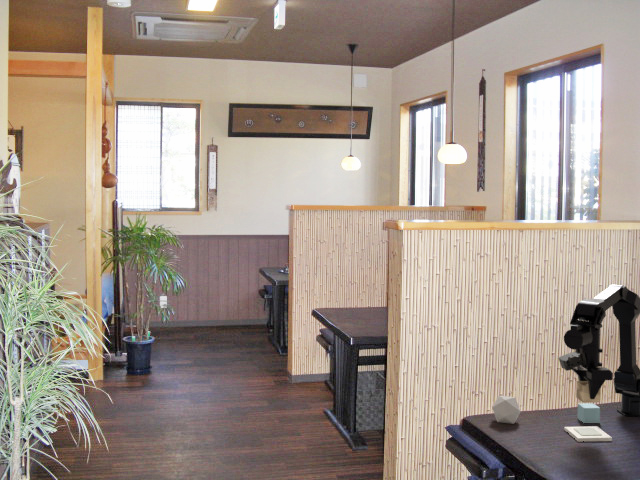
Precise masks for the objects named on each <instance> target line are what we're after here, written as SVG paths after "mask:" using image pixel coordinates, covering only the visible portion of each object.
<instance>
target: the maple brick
mask: <svg viewBox="0 0 640 480" xmlns="http://www.w3.org/2000/svg"><path fill="white" fill-rule="evenodd" d="M575 384H576V393H575V395H576V396H575V398H576V399H578V400H579V401H580V402H582V403H600V402H601V389H600V390H599V391H598V393H597V395H596V397H595V399H590V394H589V385H588V381H579V380H576V383H575Z"/></svg>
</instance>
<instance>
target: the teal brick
mask: <svg viewBox="0 0 640 480" xmlns="http://www.w3.org/2000/svg"><path fill="white" fill-rule="evenodd" d="M577 420H579V421H580V422H581V421H582V422H583V424H584V423H600V424H601V408H600V406H598V405H597V404H595V402H590V403H583V402H582V403H577ZM582 422H581V423H582Z"/></svg>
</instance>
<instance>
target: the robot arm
mask: <svg viewBox="0 0 640 480" xmlns="http://www.w3.org/2000/svg"><path fill="white" fill-rule="evenodd" d="M610 308H612V314H613V316H614V317H615V318H616V320H617V321H618V335H619V337H618V339H619V366H618V368H616V371H614V372H612V371H611V370H610V369H609V368H607V367H604V366H603V363H602V362H601V361H600V357H601V356H600V354H603V348H601V347H600V346H601V329H602V328H603V324H602V323H603V322H604V318H606V317H607V315H606V313H607V310H609V309H610ZM639 316H640V296H639V295H638V293H636V292H635V291H631V290H630V289H629V288H628V287H627V286H625V285H623V284H609V285H607V288H605V290H603V291H601V292H600V293H598V294H597V295H596V296H595V297H593V298H587V299H586V298H585V299H582V300H580V301H579V302H577V304H576V306H575V308H574V310H573V313H572V317H571V319H570V322H569V324H570V329H568V330H567V331H565V333H564V336H563V341H564V344H565V346H566V347H567V348H569V349H571V350H574V351H572V352H569V353H566V354H564V355H560V356H559V357H558V360H559V363H560V367H561V368H562V369H564V370H565V371H572V372H573V373H575V374H576V375H577V378H578V381H588V385H589V394H590V399H595V397H596V395H597V393H598V391H599V390H600V391H601V388H602V386H603V385H604V383H605V382H606V381H613V385H614V386H613V387H614V393H615V394H619V395H620V396H621V400H620V401H621V403H620V405H621V406H620V408H616V411H617V412H619V413H620V414H622V415H623V416H626V417H629V416H630V417H634V416H637V417H639V416H640V367H639V366H638V365H637V343H636V339H637V337H636V336H637V335H636V320H637V319H638V317H639Z"/></svg>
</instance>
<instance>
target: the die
mask: <svg viewBox="0 0 640 480" xmlns="http://www.w3.org/2000/svg"><path fill="white" fill-rule="evenodd" d="M491 408H492V411H493V414H494V417H495V419H496V422H497V423H502V424H503V423H505V424H515V423H516V421H517V419H518V417H519V416H520V414H521V412H522V411H521V408H520V406H519V403H518V400H517V397H514V396H506V395H498V397H497V398H496V400H495V401H494V403H493V404H492V406H491Z"/></svg>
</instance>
